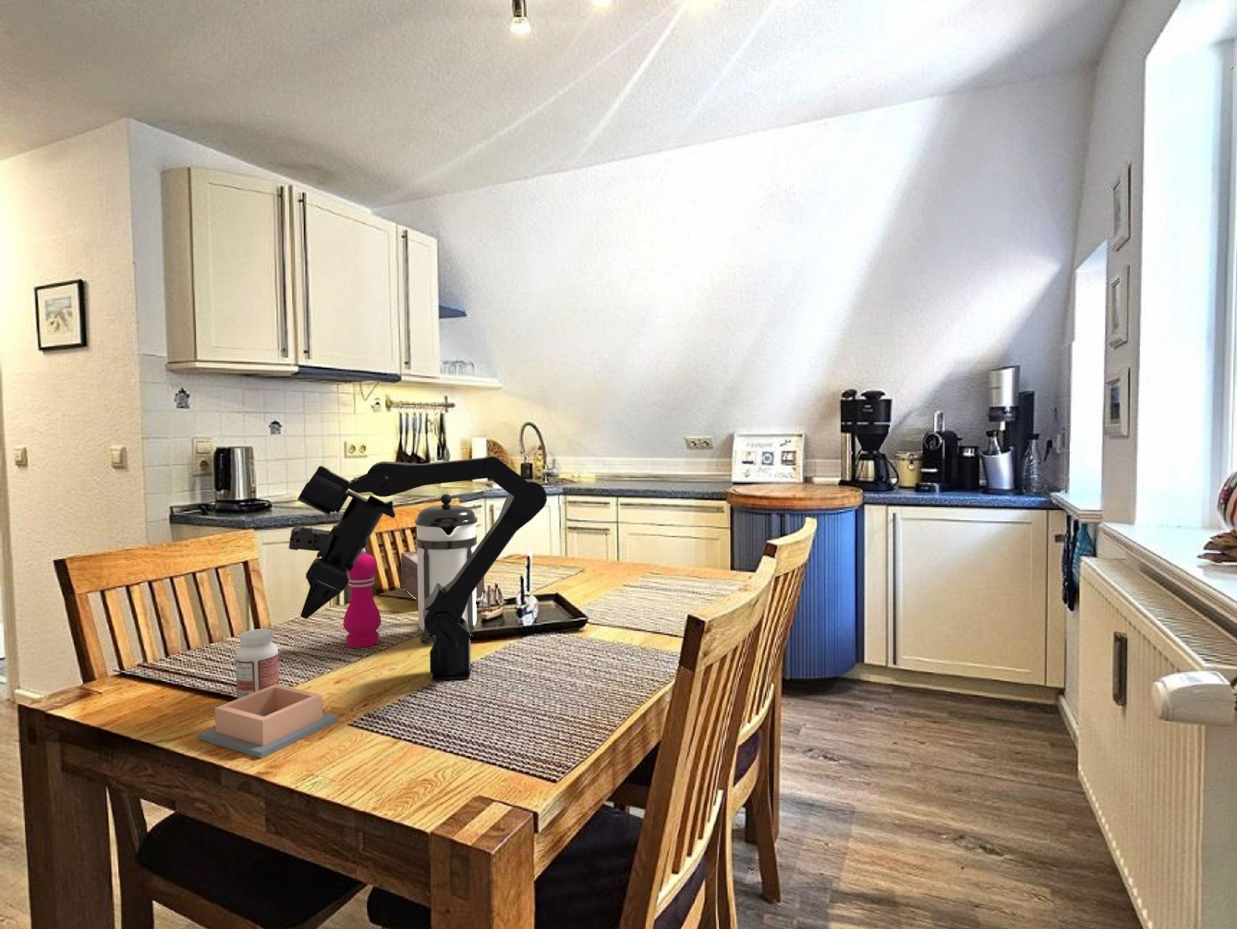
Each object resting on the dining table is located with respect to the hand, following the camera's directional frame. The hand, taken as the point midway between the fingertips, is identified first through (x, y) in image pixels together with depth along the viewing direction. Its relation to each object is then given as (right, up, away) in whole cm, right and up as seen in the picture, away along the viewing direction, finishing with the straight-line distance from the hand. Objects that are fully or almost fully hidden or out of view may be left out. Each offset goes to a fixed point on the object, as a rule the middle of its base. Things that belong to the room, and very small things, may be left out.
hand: (306, 610), depth 117 cm
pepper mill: (0, -12, +25) cm, 28 cm away
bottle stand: (+1, -14, -15) cm, 21 cm away
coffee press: (+15, -12, +32) cm, 38 cm away
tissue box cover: (+6, -10, +65) cm, 66 cm away
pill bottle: (-6, -14, -4) cm, 16 cm away
